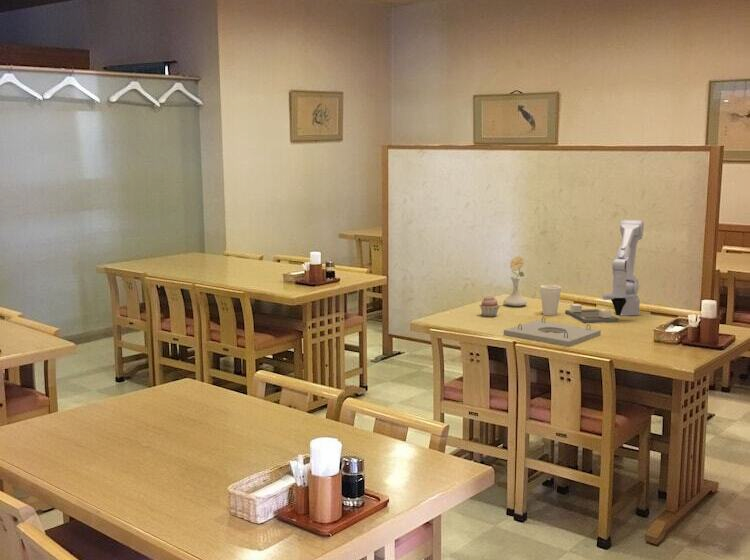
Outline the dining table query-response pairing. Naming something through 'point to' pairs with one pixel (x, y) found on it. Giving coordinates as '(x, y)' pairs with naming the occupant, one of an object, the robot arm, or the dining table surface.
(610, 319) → the plate
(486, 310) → the cupcake
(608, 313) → the handle
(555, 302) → the foam cup
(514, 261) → the flower in vase
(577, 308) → the handle
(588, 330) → the mounting panel
